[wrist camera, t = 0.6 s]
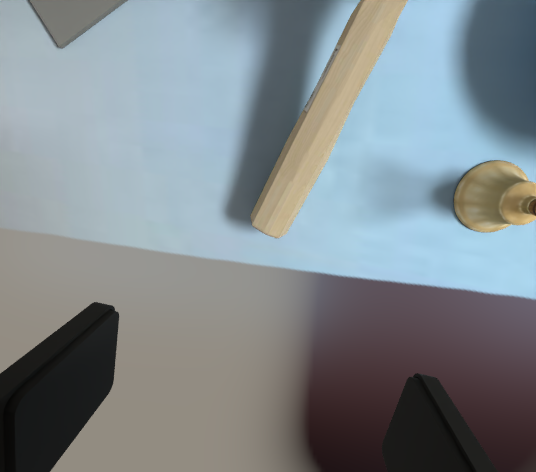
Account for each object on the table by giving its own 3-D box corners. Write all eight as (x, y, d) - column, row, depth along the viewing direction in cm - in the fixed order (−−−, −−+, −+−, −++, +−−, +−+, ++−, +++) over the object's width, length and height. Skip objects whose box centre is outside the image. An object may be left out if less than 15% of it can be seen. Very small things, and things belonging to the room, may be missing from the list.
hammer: (276, 269, 30) (526, -157, 16) (232, 247, 30) (447, -205, 16) (292, 209, 44) (434, -49, 30) (262, 194, 44) (391, -74, 30)
